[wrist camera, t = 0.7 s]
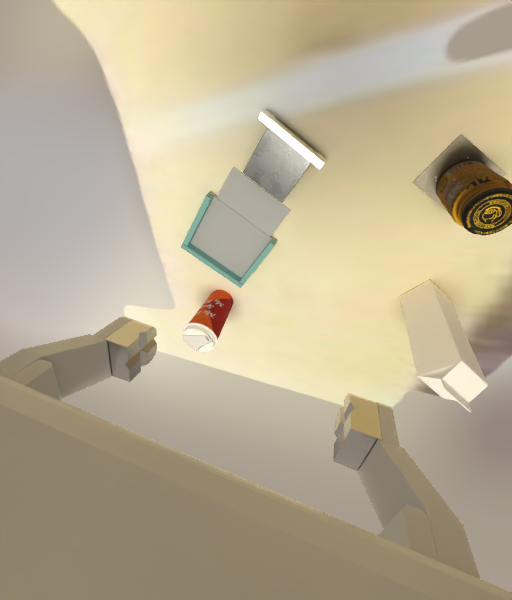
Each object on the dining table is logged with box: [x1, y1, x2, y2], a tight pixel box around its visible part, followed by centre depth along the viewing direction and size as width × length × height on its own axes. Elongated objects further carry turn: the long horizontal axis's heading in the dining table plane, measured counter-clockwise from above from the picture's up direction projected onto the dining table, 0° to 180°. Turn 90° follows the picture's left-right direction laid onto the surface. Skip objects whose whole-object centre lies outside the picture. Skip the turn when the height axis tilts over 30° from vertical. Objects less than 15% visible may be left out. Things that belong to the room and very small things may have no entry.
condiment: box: [413, 135, 512, 235], centre depth 34 cm, size 7×8×12 cm
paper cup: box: [183, 290, 233, 352], centre depth 60 cm, size 8×8×14 cm
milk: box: [400, 280, 488, 412], centre depth 43 cm, size 6×6×22 cm
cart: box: [243, 110, 326, 202], centre depth 42 cm, size 9×11×4 cm
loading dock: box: [181, 167, 290, 288], centre depth 52 cm, size 19×15×4 cm
